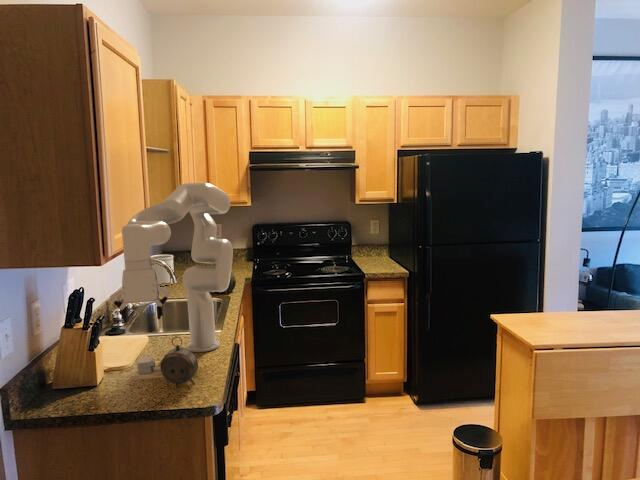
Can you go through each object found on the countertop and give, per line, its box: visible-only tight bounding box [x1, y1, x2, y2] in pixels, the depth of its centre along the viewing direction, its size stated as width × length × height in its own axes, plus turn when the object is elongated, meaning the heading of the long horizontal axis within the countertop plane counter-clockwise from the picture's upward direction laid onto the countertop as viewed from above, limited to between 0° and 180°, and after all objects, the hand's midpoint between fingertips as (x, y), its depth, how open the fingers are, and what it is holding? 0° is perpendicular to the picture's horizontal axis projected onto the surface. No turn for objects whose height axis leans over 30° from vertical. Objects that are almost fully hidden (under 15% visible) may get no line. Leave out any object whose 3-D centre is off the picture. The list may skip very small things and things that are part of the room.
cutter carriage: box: [136, 355, 156, 374], centre depth 154 cm, size 5×5×4 cm
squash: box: [223, 272, 237, 293], centre depth 262 cm, size 14×15×15 cm
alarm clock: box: [159, 336, 199, 390], centre depth 146 cm, size 11×5×16 cm, turn 83°
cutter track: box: [131, 366, 164, 381], centre depth 155 cm, size 5×17×4 cm, turn 100°
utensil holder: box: [151, 254, 175, 284], centre depth 284 cm, size 15×15×18 cm
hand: (142, 319), depth 143 cm, fingers open, 9 cm apart
